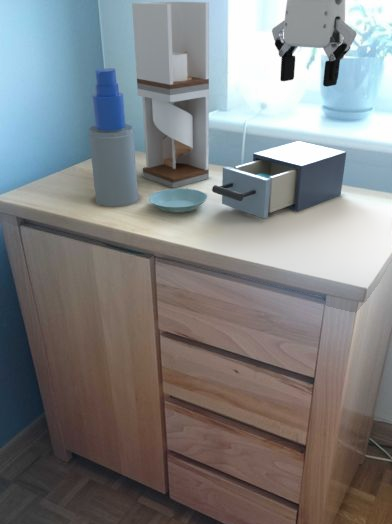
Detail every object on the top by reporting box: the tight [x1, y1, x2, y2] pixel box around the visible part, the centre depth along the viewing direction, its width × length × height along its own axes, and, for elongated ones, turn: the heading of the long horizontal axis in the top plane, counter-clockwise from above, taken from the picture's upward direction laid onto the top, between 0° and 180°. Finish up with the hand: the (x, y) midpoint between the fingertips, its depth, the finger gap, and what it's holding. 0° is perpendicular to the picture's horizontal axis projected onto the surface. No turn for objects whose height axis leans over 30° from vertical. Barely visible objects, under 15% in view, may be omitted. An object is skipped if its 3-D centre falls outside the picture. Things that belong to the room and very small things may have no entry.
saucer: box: [148, 188, 208, 214], centre depth 114 cm, size 12×12×2 cm
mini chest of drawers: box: [252, 140, 347, 213], centre depth 117 cm, size 15×13×9 cm
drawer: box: [211, 159, 298, 219], centre depth 110 cm, size 18×11×7 cm, turn 132°
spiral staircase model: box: [131, 0, 210, 189], centre depth 122 cm, size 11×11×35 cm
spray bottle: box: [88, 67, 139, 208], centre depth 112 cm, size 9×9×25 cm
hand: (307, 82), depth 102 cm, fingers open, 9 cm apart
